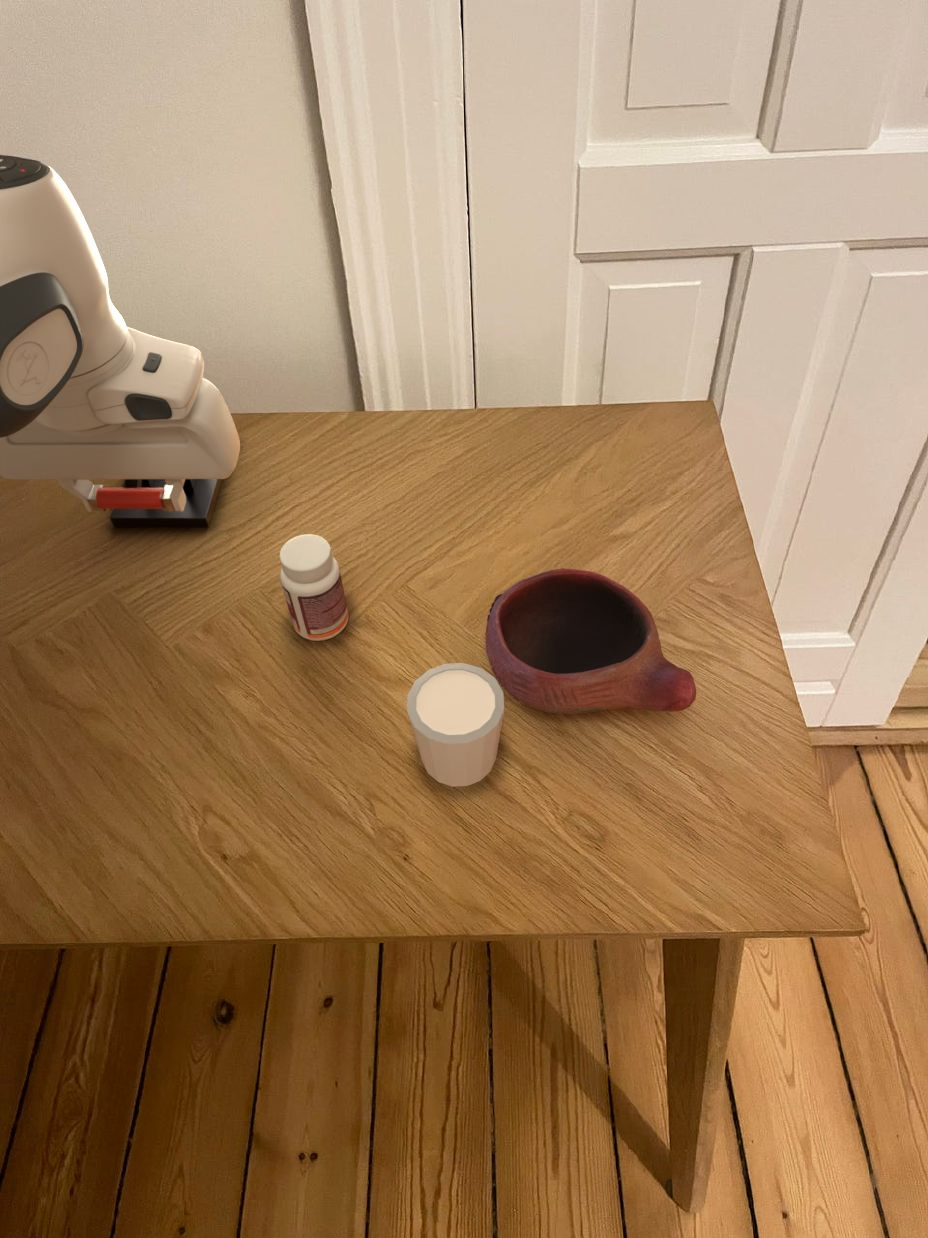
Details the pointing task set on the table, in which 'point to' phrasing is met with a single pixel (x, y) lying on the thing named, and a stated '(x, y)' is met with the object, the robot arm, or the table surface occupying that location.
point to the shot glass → (456, 722)
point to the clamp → (193, 516)
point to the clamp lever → (129, 496)
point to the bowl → (581, 647)
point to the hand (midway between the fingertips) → (138, 506)
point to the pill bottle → (313, 587)
